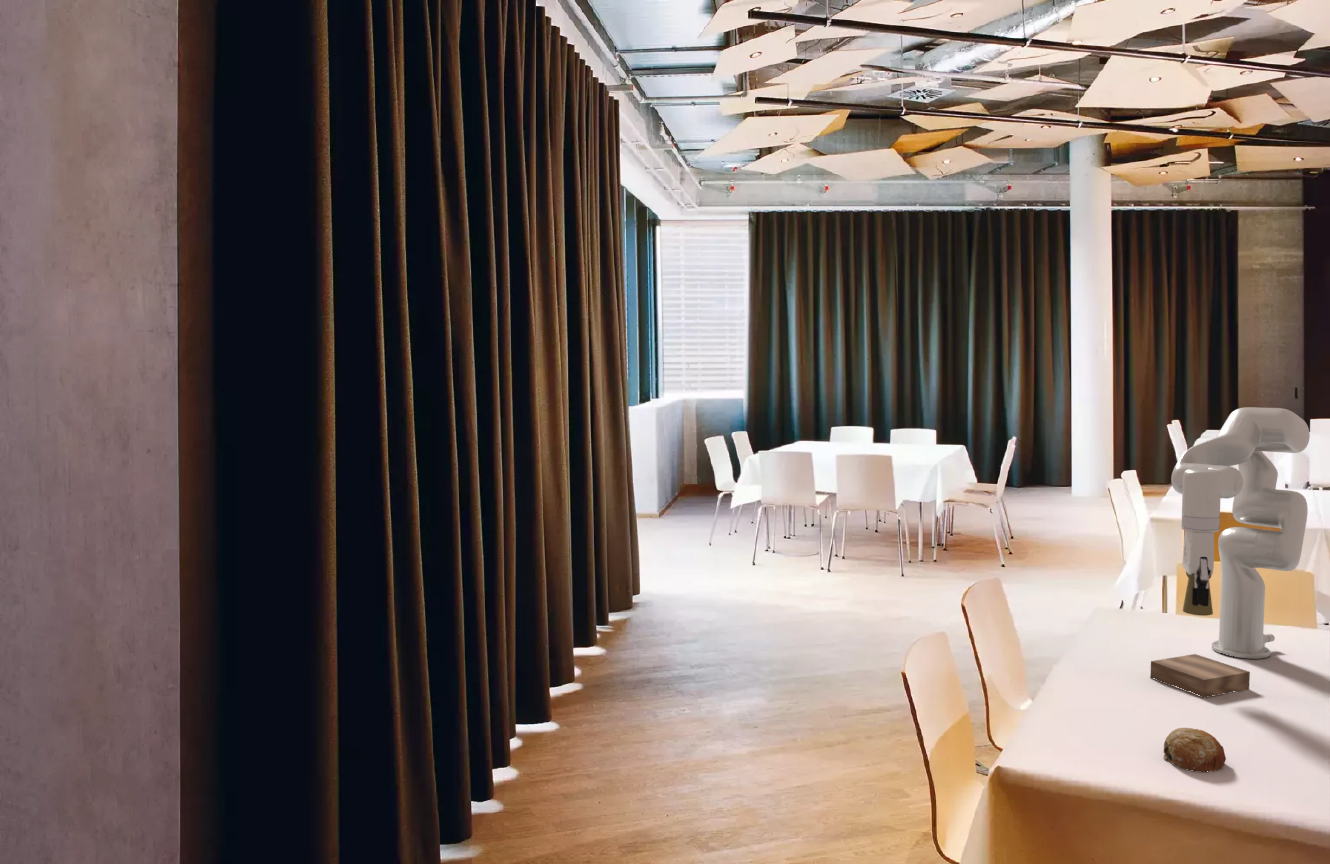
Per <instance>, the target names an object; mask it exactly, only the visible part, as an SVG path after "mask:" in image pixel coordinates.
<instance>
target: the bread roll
mask: <svg viewBox="0 0 1330 864" xmlns="http://www.w3.org/2000/svg"><path fill="white" fill-rule="evenodd" d="M1163 753H1164V754H1163V759H1164V760H1166V761H1167V762H1169V763H1171V764H1172V763H1173V765H1174V764H1175V765H1174V766H1177V767H1179V768H1180V769H1183V770H1186V769H1188V770H1187V771H1190V770H1193V771H1192V772H1196V771H1201V772H1200V773H1209V771H1212V772H1215V770H1216V771H1219V769H1220V770H1222V768H1223V767H1224V765H1226V764H1225V763H1226V759H1227V757H1226V755H1225V754H1226V753H1225V750H1224V747H1223V746H1222V745H1221V743H1220V742H1219V741H1218V739H1217V738H1216V737H1215V736H1213V735H1212V734H1210V733H1208V732H1207V731H1205V730H1202V729H1199V728H1192V727H1179V728H1175V729H1174V730H1172V731H1171V732H1169V734H1168V735H1167V736H1166V738H1165V740H1164V743H1163ZM1207 771H1208V772H1207Z"/></svg>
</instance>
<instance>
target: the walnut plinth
mask: <svg viewBox="0 0 1330 864" xmlns="http://www.w3.org/2000/svg"><path fill="white" fill-rule="evenodd" d="M1250 677H1251V672H1250V671H1249V670H1245V669H1242V668H1240V667H1236V666H1233V665H1230V664H1228V663H1223V662H1222V661H1218V660H1215V659H1211V658H1208V657H1206V656H1202V655H1200V654H1195V653H1193V654H1189V655H1188V654H1186V655H1182V656H1181V655H1180V656H1176V657H1175V656H1174V657H1169V658H1163V659H1162V658H1161V659H1156V660H1151V661H1150V679H1152V678H1155V679H1157V680H1159V681H1158V682H1160V681H1162V682H1161V683H1163V682H1165V683H1167V684H1166V685H1168V684H1170V685H1169V686H1171V685H1174V686H1177V687H1179V688H1182V689H1184V690H1186V691H1185V692H1187V691H1191V692H1193V693H1195V694H1198V695H1200V696H1202V697H1201V698H1203V697H1205V698H1208V697H1207V696H1210V697H1213V696H1212V695H1216V696H1219V695H1218V694H1221V695H1224V694H1223V693H1226V694H1230V693H1229V692H1232V693H1234V692H1233V691H1237V692H1241V691H1242V692H1243V691H1247V690H1250V679H1251V678H1250ZM1157 680H1156V681H1157ZM1165 683H1164V684H1165ZM1179 688H1178V689H1179ZM1184 690H1183V691H1184ZM1195 694H1194V695H1195ZM1198 695H1197V696H1198ZM1200 696H1199V697H1200Z"/></svg>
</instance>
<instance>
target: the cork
mask: <svg viewBox="0 0 1330 864" xmlns="http://www.w3.org/2000/svg"><path fill="white" fill-rule="evenodd" d="M1208 571H1210V570H1209V568H1208ZM1210 572H1211V571H1210ZM1197 574H1200V572H1197ZM1185 575H1186V576H1187V584H1186V590H1185V596H1184V602H1183V607H1182V611H1183V613H1185V614H1188V615H1194V616H1205V617H1206V616H1212V615H1213V614H1214V611H1213V602H1212V594H1211V587H1210V584H1209V601H1208V606H1202V605H1200V604H1199V605H1198V606H1195V605H1193V604H1192V587H1194V573H1192V575H1189V574H1188V573H1187V572H1186V571H1185ZM1212 575H1213V574H1212ZM1212 575H1211V576H1209V575H1208V576H1209V577H1208V579H1209V580H1210V579H1211V577H1212ZM1198 578H1200V577H1197V580H1198ZM1197 582H1198V581H1197Z"/></svg>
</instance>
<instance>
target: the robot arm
mask: <svg viewBox="0 0 1330 864" xmlns="http://www.w3.org/2000/svg"><path fill="white" fill-rule="evenodd" d="M1308 426H1309V425H1308V424H1307V423H1306V421H1305V420H1304V419H1303V418H1301V417H1300V416H1299V415H1298V414H1296V413H1295V412H1294V411H1291V410H1290V409H1287V408H1281V407H1254V406H1253V407H1251V406H1246V407H1245V406H1244V407H1240V408H1237V409H1235V410H1233V411H1232V412H1231V413H1230V414H1229V415H1228V417H1227V419H1226V420H1225V422H1224V424H1223V425H1222V427H1221V428H1220V430H1219V431H1218V433H1217V435H1216V437H1213V438H1210V439H1207V440H1206V441H1203V442H1200V443H1199V444H1196V445H1193V446H1192V447H1190V448H1188V449H1186V450H1185V451H1184V452H1183V453H1182V455H1181V456H1180V457H1179V459H1178V461H1177V462H1176V464H1175V465H1174V467H1173V470H1172V473H1171V479H1170V480H1171V481H1170V482H1171V486H1172V488H1173V490H1174V491H1175V492H1176V493H1178V494H1180V495H1182V496H1181V497H1182V498H1181V529H1182V530H1183V531H1184V536H1183V537H1184V538H1183V548H1182V549H1183V550H1182V563H1181V566H1182V568H1183V569H1184V571H1185V573H1186V572H1187V573H1188V574H1189V575H1192V573H1194V587H1192V604H1193V605H1195V606H1198V605H1199V604H1200V605H1202V606H1208V601H1209V585H1210V579H1208V577H1209V576H1211V575H1213V574H1214V565H1215V533H1218V532H1220V528H1221V527H1220V524H1221V522H1220V518H1221V499H1226V500H1227V499H1232V498H1233V502H1232V507H1231V509H1232V517H1233V518H1234V519H1235V521H1236V522H1239V523H1241V524H1245V525H1251V526H1260V527H1267V528H1276V529H1280V530H1279V531H1278V530H1271V529H1270V530H1269V529H1262V528H1254V527H1245V526H1234V527H1233V526H1232V527H1229V528H1225V529H1224V530H1223V531H1222V532H1220V534H1219V536H1218V540H1217V541H1218V542H1217V544H1218V545H1217V547H1218V553H1219V560H1220V572H1221V573H1220V574H1221V575H1220V597H1219V598H1220V599H1219V600H1220V601H1219V602H1220V605H1219V625H1218V626H1219V631H1218V640H1214V641H1212V643H1211V649H1212V650H1213V651H1214V652H1217V653H1220V654H1221V653H1223V654H1222V655H1224V654H1226V655H1225V656H1228V655H1229V657H1233V656H1234V658H1239V659H1248V660H1249V659H1251V660H1253V659H1254V660H1258V659H1259V660H1261V659H1266V658H1268V657H1270V655H1271V650H1270V649H1269V648H1268V647H1266V643H1273V642H1275V640H1276V639H1275V636H1274V634H1272V633H1269V634H1267V633H1266V634H1265V633H1264V626H1265V602H1266V599H1265V597H1266V584H1265V582H1264V579H1263V577H1262V576H1261V574H1260V572H1258V570H1257V569H1265V570H1271V571H1272V570H1273V571H1281V572H1290V571H1291V572H1292V571H1294V570H1295V569H1296V568H1297V567H1298V566H1299V564H1300V560H1301V556H1302V550H1303V544H1304V539H1305V533H1306V526H1307V523H1308V522H1307V520H1308V513H1309V511H1308V510H1309V509H1308V503H1307V499H1306V497H1305V496H1304V495H1303V494H1302V493H1300V492H1298V491H1294V490H1289V489H1288V490H1287V489H1277V482H1278V477H1279V472H1278V469H1277V468H1276V466H1275V465H1274V463H1273V462H1272V461H1271V460H1270V459H1269V458H1268V456H1267V455H1266V454H1265V453H1264V452H1271V453H1287V454H1298V453H1302V452H1303V451H1305V450H1306V448H1307V447H1308V445H1309V442H1310V436H1311V435H1310V429H1309V427H1308ZM1233 466H1238V469H1237V468H1235V467H1233ZM1208 568H1209V570H1210V571H1211V572H1210V571H1208ZM1197 572H1200V574H1197ZM1208 575H1209V576H1208ZM1197 577H1200V578H1198V580H1197ZM1211 577H1212V576H1211ZM1197 581H1198V582H1197Z"/></svg>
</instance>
